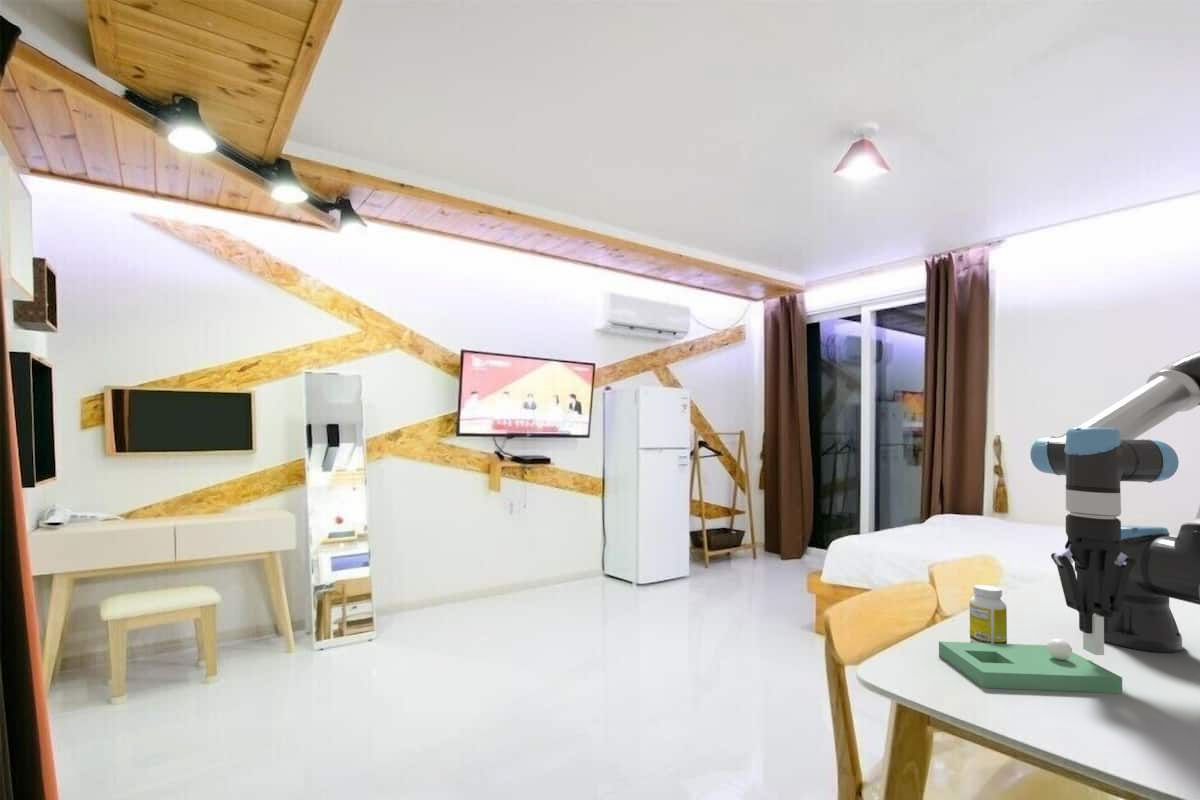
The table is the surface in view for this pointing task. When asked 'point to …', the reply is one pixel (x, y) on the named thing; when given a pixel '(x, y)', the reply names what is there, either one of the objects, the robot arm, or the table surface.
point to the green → (1027, 668)
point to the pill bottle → (988, 616)
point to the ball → (1059, 649)
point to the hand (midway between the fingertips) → (1093, 651)
